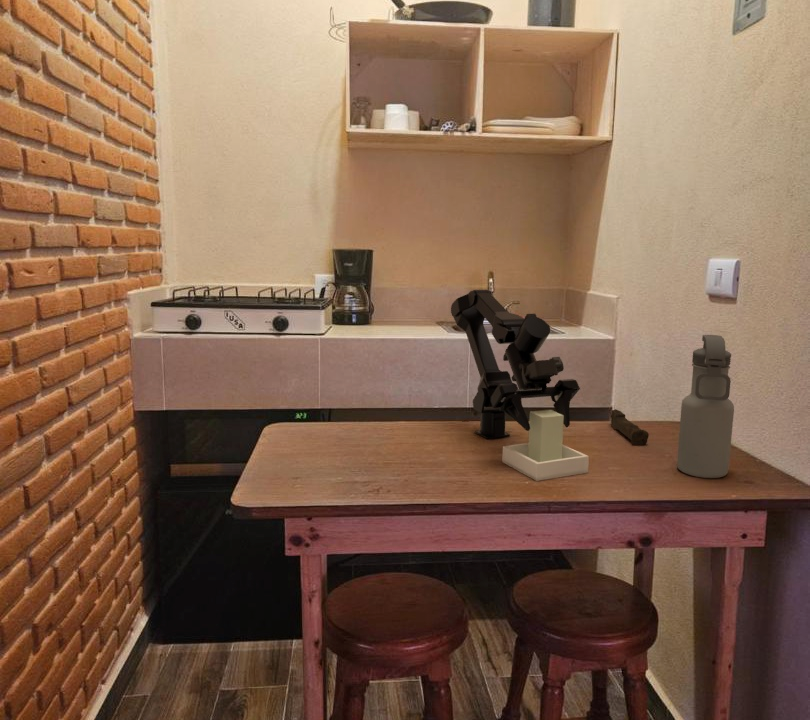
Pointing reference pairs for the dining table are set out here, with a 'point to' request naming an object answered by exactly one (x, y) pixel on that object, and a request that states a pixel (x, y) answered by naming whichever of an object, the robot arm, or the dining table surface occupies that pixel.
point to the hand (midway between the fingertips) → (548, 428)
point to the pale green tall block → (545, 435)
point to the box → (545, 462)
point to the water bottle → (707, 413)
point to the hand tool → (628, 428)
